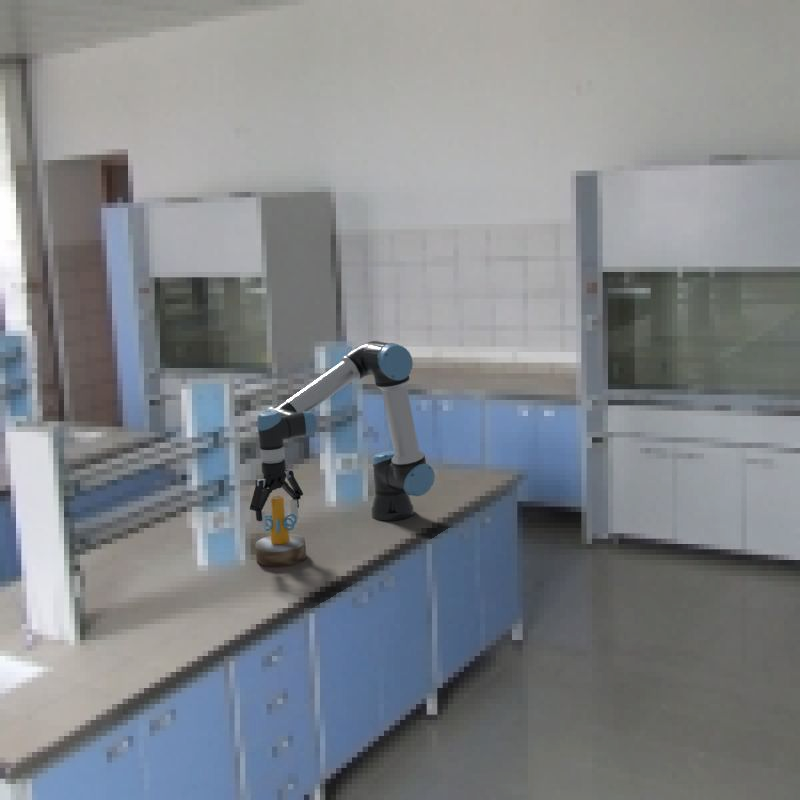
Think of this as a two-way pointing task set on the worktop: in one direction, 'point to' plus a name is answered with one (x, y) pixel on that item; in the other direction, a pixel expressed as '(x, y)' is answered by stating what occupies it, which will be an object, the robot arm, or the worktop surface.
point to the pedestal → (280, 552)
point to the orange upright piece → (279, 521)
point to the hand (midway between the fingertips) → (279, 524)
